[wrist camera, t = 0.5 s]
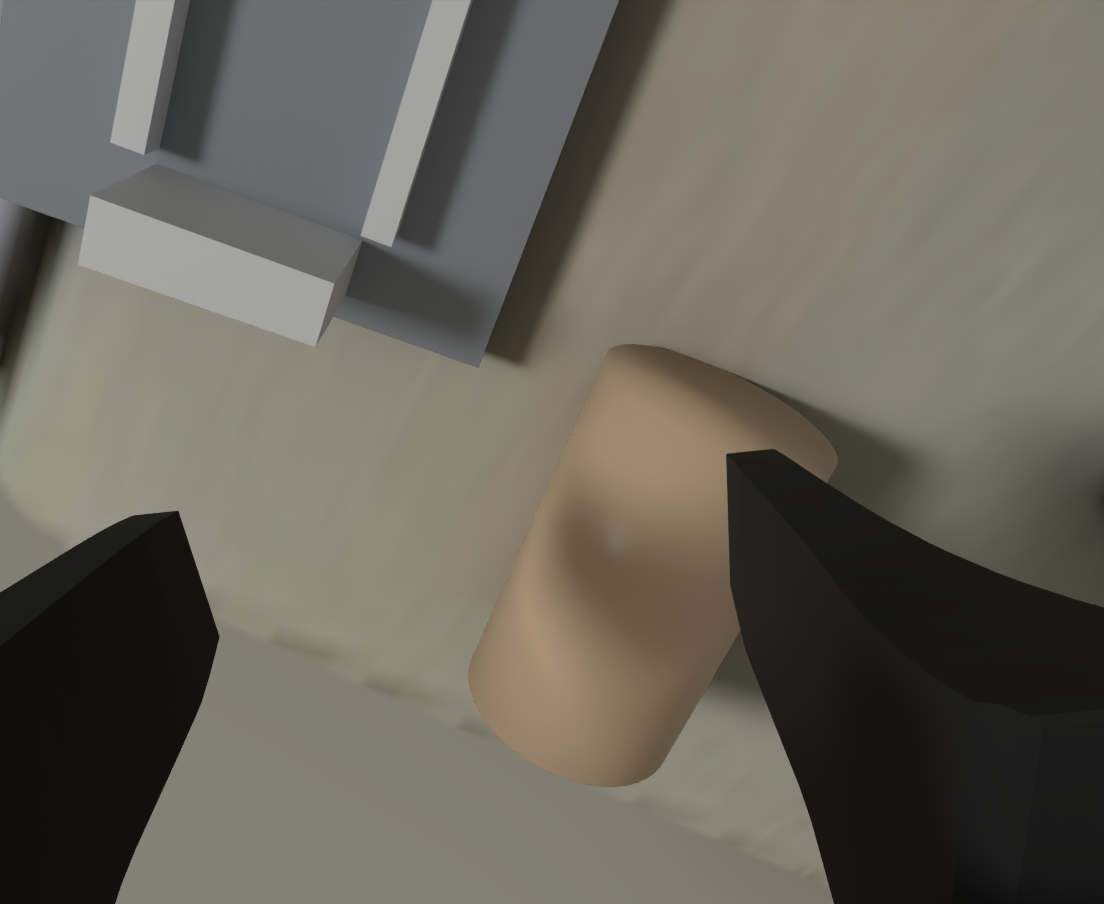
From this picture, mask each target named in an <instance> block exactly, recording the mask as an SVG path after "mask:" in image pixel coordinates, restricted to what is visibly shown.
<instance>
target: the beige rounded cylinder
mask: <svg viewBox="0 0 1104 904" xmlns="http://www.w3.org/2000/svg"><path fill="white" fill-rule="evenodd" d="M766 449H775V450H777V451H779V452H780V453H782V454H784V455H785V456H787V457H788V458H790V459H791V460H793V461H794V462H796V463H797V464H799V465H800V466H802V467H803V468H805V469H806V470H808V471H809V472H811V473H812V474H814V475H815V476H817V477H818V478H820V479H821V480H823V481H824V482H826V483H827V482H828V480H829V479H830V477H831V475H832V474H833V472H834V470H835V468H836V467H837V465H838V457H837V454H836V452H835V450H834V448H833V446H832V445H831V443H830V442H829V441H828V439H827V438H826V437H825V436H824V435H823V434H822V433H821V431H819V430H818V429H817V428H816V427H815V426H814V425H813V424H812V423H811V422H810V421H808V420H807V419H806V418H805V417H804V416H802V415H801V414H800V413H798V412H797V411H796V410H794V409H793V408H791V407H790V406H788V405H787V404H786V403H784V402H783V401H781V400H780V399H778V398H776V397H775V396H773V395H771V394H770V393H768V392H766V391H765V390H763V389H761V388H759V387H758V386H756V385H754V384H752V383H750V382H748V381H746V380H745V379H743V378H741V377H738V376H736V375H734V374H732V373H730V372H728V371H725V370H723V369H720V368H717V367H715V366H712V365H709V364H707V363H704V362H701V361H699V360H696V359H693V358H691V357H688V356H685V355H683V354H680V353H677V352H674V351H671V350H667V349H663V348H658V347H653V346H646V345H636V344H627V345H619V346H615V347H613V348H611V349H610V350H609V351H608V352H607V354H606V356H605V358H604V360H603V362H602V365H601V367H600V369H599V371H598V374H597V376H596V378H595V381H594V383H593V385H592V387H591V390H590V392H589V394H588V396H587V399H586V401H585V403H584V405H583V408H582V410H581V412H580V414H579V417H578V419H577V421H576V423H575V426H574V428H573V430H572V432H571V435H570V437H569V439H568V442H567V444H566V446H565V448H564V451H563V453H562V455H561V457H560V460H559V462H558V464H557V466H556V469H555V471H554V473H553V475H552V478H551V480H550V482H549V484H548V487H547V489H546V491H545V494H544V496H543V498H542V500H541V503H540V505H539V507H538V509H537V512H536V514H535V516H534V518H533V521H532V523H531V525H530V527H529V530H528V532H527V534H526V536H525V539H524V541H523V543H522V545H521V548H520V550H519V552H518V555H517V557H516V559H515V561H514V564H513V566H512V568H511V570H510V573H509V575H508V577H507V579H506V582H505V584H504V586H503V588H502V591H501V593H500V595H499V597H498V600H497V602H496V604H495V607H494V609H493V611H492V613H491V616H490V618H489V620H488V622H487V625H486V627H485V629H484V631H483V634H482V636H481V638H480V640H479V643H478V645H477V647H476V649H475V652H474V654H473V656H472V658H471V661H470V665H469V676H468V679H469V686H470V691H471V694H472V697H473V700H474V702H475V704H476V706H477V708H478V710H479V712H480V713H481V715H482V716H483V718H484V720H485V721H486V723H487V724H488V725H489V726H490V727H491V729H492V730H493V731H494V732H495V733H496V734H497V735H498V736H499V737H500V738H501V739H502V740H503V741H504V742H505V743H506V744H507V745H508V746H509V747H510V748H512V749H513V750H514V751H515V752H517V753H518V754H519V755H521V756H522V757H524V758H525V759H527V760H528V761H529V762H531V763H533V764H535V765H536V766H538V767H540V768H542V769H544V770H546V771H548V772H550V773H552V774H554V775H557V776H559V777H562V778H565V779H568V780H571V781H574V782H578V783H582V784H586V785H593V786H601V787H617V786H626V785H630V784H634V783H638V782H640V781H642V780H644V779H646V778H648V777H649V776H651V775H652V774H654V773H655V772H656V771H657V770H658V769H659V768H660V766H661V765H662V763H663V762H664V760H665V758H666V757H667V755H668V753H669V751H670V750H671V748H672V746H673V745H674V743H675V741H676V740H677V738H678V736H679V734H680V733H681V731H682V729H683V728H684V726H685V724H686V723H687V721H688V719H689V717H690V716H691V714H692V712H693V711H694V709H695V707H696V705H697V704H698V702H699V700H700V699H701V697H702V695H703V694H704V692H705V690H706V688H707V687H708V685H709V683H710V682H711V680H712V678H713V676H714V675H715V673H716V671H717V670H718V668H719V666H720V665H721V663H722V661H723V659H724V658H725V656H726V654H727V653H728V651H729V649H730V647H731V646H732V644H733V642H734V641H735V639H736V637H737V636H738V634H739V632H740V626H739V622H738V617H737V613H736V609H735V605H734V600H733V596H732V592H731V588H730V566H729V534H728V501H727V468H726V454H728V453H737V452H747V451H756V450H766Z"/></svg>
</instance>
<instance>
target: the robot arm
mask: <svg viewBox="0 0 1104 904" xmlns="http://www.w3.org/2000/svg"><path fill="white" fill-rule="evenodd" d="M726 468H727V501H728V534H729V566H730V588H731V592H732V596H733V600H734V605H735V609H736V613H737V617H738V622H739V626H740V630H741V634H742V637H743V641H744V645H745V649H746V652H747V654H748V657H749V660H750V662H751V665H752V668H753V670H754V673H755V675H756V678H757V680H758V683H759V686H760V688H761V691H762V693H763V696H764V698H765V701H766V703H767V706H768V708H769V711H770V713H771V716H772V719H773V721H774V724H775V726H776V729H777V731H778V734H779V736H780V739H781V741H782V744H783V746H784V749H785V751H786V754H787V756H788V759H789V761H790V764H791V766H792V769H793V771H794V774H795V776H796V779H797V782H798V784H799V787H800V789H801V792H802V795H803V798H804V801H805V804H806V807H807V810H808V813H809V816H810V819H811V822H812V825H813V829H814V832H815V836H816V840H817V843H818V847H819V851H820V854H821V858H822V862H823V865H824V869H825V872H826V876H827V880H828V883H829V887H830V891H831V894H832V898H833V902H834V904H1104V608H1103V607H1100V606H1096V605H1093V604H1089V603H1085V602H1082V601H1078V600H1075V599H1072V598H1069V597H1066V596H1063V595H1060V594H1057V593H1054V592H1051V591H1048V590H1044V589H1041V588H1038V587H1035V586H1032V585H1029V584H1026V583H1023V582H1020V581H1018V580H1015V579H1012V578H1010V577H1007V576H1004V575H1002V574H999V573H996V572H994V571H991V570H989V569H987V568H984V567H982V566H980V565H977V564H975V563H973V562H970V561H968V560H966V559H963V558H961V557H959V556H956V555H954V554H952V553H949V552H947V551H945V550H943V549H941V548H939V547H937V546H934V545H932V544H930V543H928V542H926V541H924V540H922V539H921V538H919V537H917V536H915V535H913V534H911V533H909V532H907V531H906V530H904V529H902V528H900V527H898V526H896V525H894V524H892V523H891V522H889V521H887V520H885V519H884V518H882V517H880V516H878V515H877V514H875V513H873V512H872V511H870V510H868V509H867V508H865V507H863V506H862V505H860V504H858V503H857V502H855V501H854V500H852V499H850V498H849V497H847V496H846V495H844V494H842V493H841V492H839V491H838V490H836V489H835V488H833V487H832V486H830V485H829V484H827V483H826V482H824V481H823V480H821V479H820V478H818V477H817V476H815V475H814V474H812V473H811V472H809V471H808V470H806V469H805V468H803V467H802V466H800V465H799V464H797V463H796V462H794V461H793V460H791V459H790V458H788V457H787V456H785V455H784V454H782V453H780V452H779V451H777V450H775V449H766V450H756V451H747V452H737V453H728V454H726ZM218 641H219V634H218V631H217V628H216V625H215V622H214V619H213V616H212V612H211V609H210V606H209V603H208V600H207V597H206V594H205V591H204V588H203V585H202V582H201V579H200V576H199V573H198V570H197V567H196V564H195V561H194V558H193V554H192V551H191V548H190V545H189V542H188V539H187V536H186V533H185V530H184V527H183V524H182V521H181V518H180V515H179V512H178V511H172V512H163V513H153V514H143V515H134V516H131V517H129V518H126V519H124V520H122V521H120V522H118V523H116V524H114V525H112V526H110V527H108V528H106V529H104V530H102V531H101V532H99V533H97V534H95V535H94V536H92V537H90V538H88V539H87V540H85V541H83V542H82V543H80V544H78V545H77V546H75V547H73V548H72V549H70V550H68V551H67V552H65V553H64V554H62V555H60V556H59V557H57V558H55V559H54V560H52V561H51V562H49V563H47V564H46V565H44V566H42V567H41V568H39V569H38V570H36V571H34V572H33V573H31V574H29V575H28V576H26V577H25V578H23V579H22V580H20V581H18V582H17V583H15V584H13V585H12V586H10V587H9V588H7V589H6V590H4V591H2V592H0V904H115V902H116V899H117V896H118V893H119V890H120V887H121V884H122V881H123V879H124V876H125V874H126V872H127V869H128V867H129V864H130V861H131V859H132V857H133V854H134V852H135V849H136V847H137V845H138V843H139V840H140V838H141V836H142V834H143V832H144V829H145V827H146V825H147V823H148V821H149V818H150V816H151V814H152V812H153V810H154V808H155V805H156V803H157V801H158V799H159V797H160V794H161V792H162V790H163V788H164V785H165V783H166V781H167V779H168V777H169V775H170V772H171V770H172V768H173V766H174V763H175V762H176V759H177V757H178V755H179V753H180V751H181V748H182V746H183V744H184V741H185V739H186V737H187V734H188V732H189V730H190V728H191V726H192V723H193V721H194V719H195V717H196V714H197V712H198V709H199V707H200V705H201V702H202V699H203V696H204V692H205V689H206V686H207V682H208V679H209V676H210V672H211V668H212V664H213V660H214V656H215V652H216V648H217V644H218Z"/></svg>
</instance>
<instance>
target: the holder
mask: <svg viewBox="0 0 1104 904" xmlns="http://www.w3.org/2000/svg"><path fill="white" fill-rule="evenodd" d="M618 2H619V0H4V1H3V9H2V17H1V25H0V198H1V199H4V200H7V201H10V202H13V203H16V204H18V205H21V206H24V207H27V208H30V209H32V210H35V211H38V212H41V213H44V214H47V215H49V216H52V217H55V218H58V219H61V220H63V221H66V222H69V223H72V224H75V225H78V226H80V227H83V228H84V233H83V239H82V245H81V250H80V256H79V261H78V265H81V266H83V267H86V268H89V269H92V270H95V271H98V272H101V273H104V274H106V275H109V276H112V277H115V278H118V279H121V280H124V281H127V282H129V283H132V284H135V285H138V286H141V287H144V288H147V289H150V290H152V291H155V292H158V293H161V294H164V295H167V296H170V297H173V298H175V299H178V300H181V301H184V302H187V303H190V304H193V305H196V306H198V307H201V308H204V309H207V310H210V311H213V312H216V313H219V314H221V315H224V316H227V317H230V318H233V319H236V320H239V321H242V322H245V323H247V324H250V325H253V326H256V327H259V328H262V329H265V330H268V331H270V332H273V333H276V334H279V335H282V336H285V337H288V338H291V339H293V340H296V341H299V342H302V343H305V344H308V345H311V346H314V347H316V345H317V343H318V342H319V340H320V338H321V337H322V335H323V333H324V332H325V330H326V328H327V326H328V325H329V323H330V321H331V320H332V318H333V316H334V317H337V318H340V319H342V320H345V321H348V322H351V323H354V324H356V325H359V326H362V327H365V328H368V329H371V330H373V331H376V332H379V333H382V334H385V335H387V336H390V337H393V338H396V339H399V340H402V341H404V342H407V343H410V344H413V345H416V346H418V347H421V348H424V349H427V350H430V351H432V352H435V353H438V354H441V355H444V356H447V357H449V358H452V359H455V360H458V361H461V362H463V363H466V364H469V365H472V366H475V367H479V365H480V362H481V360H482V357H483V354H484V352H485V349H486V346H487V344H488V341H489V339H490V336H491V333H492V331H493V328H494V326H495V323H496V320H497V318H498V315H499V313H500V310H501V307H502V305H503V302H504V299H505V297H506V294H507V292H508V289H509V286H510V284H511V281H512V279H513V276H514V273H515V271H516V268H517V266H518V263H519V260H520V258H521V255H522V252H523V250H524V247H525V245H526V242H527V239H528V237H529V234H530V232H531V229H532V226H533V224H534V221H535V219H536V216H537V213H538V211H539V208H540V205H541V203H542V200H543V198H544V195H545V192H546V190H547V187H548V185H549V182H550V179H551V177H552V174H553V172H554V169H555V166H556V164H557V161H558V158H559V156H560V153H561V151H562V148H563V145H564V143H565V140H566V138H567V135H568V132H569V130H570V127H571V125H572V122H573V119H574V117H575V114H576V112H577V109H578V106H579V104H580V101H581V98H582V96H583V93H584V91H585V88H586V85H587V83H588V80H589V78H590V75H591V72H592V70H593V67H594V65H595V62H596V59H597V57H598V54H599V51H600V49H601V46H602V44H603V41H604V38H605V36H606V33H607V31H608V28H609V25H610V23H611V20H612V18H613V15H614V12H615V10H616V7H617V4H618Z"/></svg>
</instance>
